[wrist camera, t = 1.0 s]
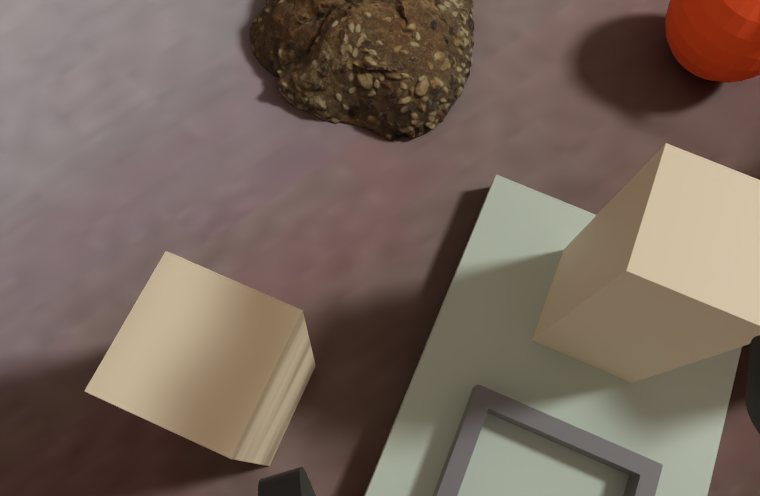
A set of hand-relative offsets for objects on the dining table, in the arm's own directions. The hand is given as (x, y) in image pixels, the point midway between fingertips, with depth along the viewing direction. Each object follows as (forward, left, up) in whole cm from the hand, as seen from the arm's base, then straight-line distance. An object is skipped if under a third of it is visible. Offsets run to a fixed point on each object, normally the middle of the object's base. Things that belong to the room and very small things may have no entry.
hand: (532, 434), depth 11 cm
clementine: (+7, +28, -20) cm, 35 cm away
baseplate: (+5, +5, -20) cm, 21 cm away
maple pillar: (-9, 0, -20) cm, 22 cm away
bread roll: (-12, +21, -21) cm, 31 cm away
